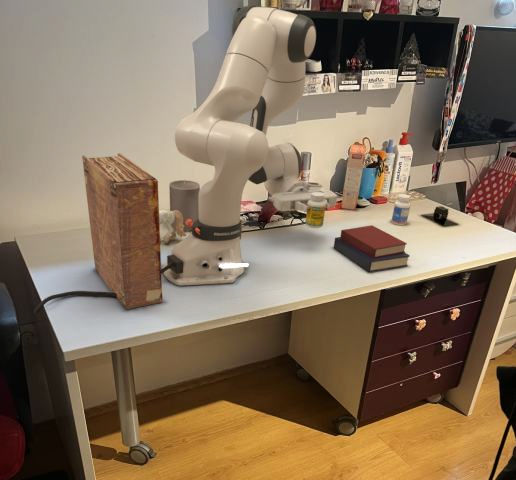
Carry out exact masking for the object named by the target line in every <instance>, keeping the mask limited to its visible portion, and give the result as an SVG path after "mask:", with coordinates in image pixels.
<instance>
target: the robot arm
mask: <svg viewBox="0 0 516 480" xmlns="http://www.w3.org/2000/svg"><path fill="white" fill-rule="evenodd" d="M231 36H232V38H231V40H230V43H229V45H228V48H227V50H226V53H225V56H224V60H223V62H222V65H221V68H220V70H219V74H218V76H217V79H216V81H215V84H214V85H213V88H212V90H211V91H210V93H209V95H208V96H207V97H206V99H205V100H204V101H203V103H202V104H201V105H200V106H199V107H198V108H197V109H196V110H195V111H194V112H192V113H190V114H189V115H187V116H185V117H183V118H182V119H181V120H180V121H179V123H178V124H177V126H176V129H175V133H174V142H175V143H174V144H175V147H176V149H177V151H178V152H179V153H180V154H181V155H183V156H184V157H186V158H187V159H189V160H191V161H193V162H195V163H199V164H204V165H209V166H212V167H214V174H213V179H211V180H209V181H207V182H206V183H204V184H203V185H202V186H200V190H199V194H198V215H199V218H198V219H197V220H196V221H195V222H193V221H192V220H191V219H187V221H186V225H187V226H188V227H189V228H192V230H191V233H190V234H188V235H186V236H185V238H184V239H182V240H181V241H179V243H177V244H175V246H173V248H172V250H171V253H170V254H169V255H166V262H165V261H164V263H163V264H162V267H161V275H162V274H163V276H164V277H165V278H166V279H167V280H168V281H169V282H171V283H172V284H174V285H177V286H179V287H180V286H181V287H183V286H199V285H201V286H202V285H215V284H217V285H219V284H232V283H234V282H235V281H236V280H237V278H238V277H239V276H240V277H241V275H242V274H243V273H244V272H245V268H247V267H249V263H248V262H246V263H245V262H244V263H243V259H242V251H241V240H242V232H243V228H242V224H243V223H242V219H241V212H242V199H243V192H244V190H245V186H246V184H247V182H248V181H249V182H250V183H252V184H254V185H261V184H264V188H265V190H266V192H268V194H269V195H270V196H268V198H267V199H268V201H269V202H270V203H272V205H273V207H274V208H275V209H276V210H278V211H279V212H292V211H300V212H301V211H302V212H304V213H307V212H309V211H310V206H309V205H307V204H308V201H309V200H310V199H311V198H310V196H311V193H312V192H320V193H323V194H324V200H323V201H324V202H325V204H326V205H325V211H329V210H330V208H335V207H336V205H337V201H338V194H336V193H335V192H334V191H332V190H330V189H329V188H327V187H323V184H322V183H319V182H310V181H305V180H300V179H299V178H300V176H301V172H302V168H303V162H302V155H301V153H300V152H299V150H298V148H297V147H296V146H294V145H293V143H291V142H284V143H280V144H275V145H272V146H269V142H268V138H267V131H268V129H269V126H270V125H271V123H272V122H273V121H274V120H275V119H276V118H278V117H279V116H280V115H282V114H284V113H285V112H286V111H289V110H290V109H292V108H293V107H294V106H295V105H296V104H298V103H299V101H300V100H301V98H302V97H303V94H304V91H305V84H306V69H307V67H306V66H307V65H306V62H307V60H309V58H310V57H311V56H312V54H313V52H314V49H315V46H316V40H317V27H316V25H315V23H314V21H313V20H312V18H310V17H308V16H307V15H304V14H301V13H300V14H296V13H293V12H291V11H287V10H283V9H279V8H278V7H277V8H276V7H268V6H256V5H245V6H242V7H241V8H240V9H239V10H238V11H237V12H236V13H235V14H234V18H233V21H232V26H231ZM251 111H252V112H251ZM249 112H251V117H250V123H249V125H248V124H246V123H242V122H241V123H240V122H237V121H238V119H239V118H240V117H242V116H243V115H244V114H247V113H249ZM70 296H71V297H72V296H99V297H100V296H101V297H102V296H103V297H112V298H117V294H116V293H113V292H112V291H110V292H109V291H93V290H92V291H91V290H71V291H65V292H61V293H56V294H52V295H49V296H47V297H45V298H44V299H43V300H42V301H40V302H39V304H37V306H36V307H35V309H34V310H33V311H32V314H39V312H40V310H41V309H42V308H43V307H44V306H45V305H46V304H47V303H48V302H50V301H52V300H56V299H60V298H66V297H70Z"/></svg>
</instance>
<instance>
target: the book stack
mask: <svg viewBox="0 0 516 480" xmlns="http://www.w3.org/2000/svg"><path fill="white" fill-rule="evenodd" d="M406 245H408V243H407V242H405V241H404V240H401V239H400V238H398V237H396V236H394V235H392V234H390V233H388V232H386V231H384V230H382V229H381V228H378V227H376V226H375V225H373V224H372V225H365V226H359V227H351V228H345V229H341V230H340V236H337V237H334V242H333V249H334V250H335V251H336V252H338V253H340V254H341V255H342V256H344V257H345V258H347V259H348V260H349V261H351V262H353V263H354V264H355V265H357V266H358V267H360V268H361V269H363V270H364V271H366V272H367V273H374V272H381V271H388V270H394V269H400V268H406V267H408V266H409V265H408V261H409V257H410V256H411V255H410V254H408V253H406V251H405V249H406Z"/></svg>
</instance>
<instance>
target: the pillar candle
mask: <svg viewBox="0 0 516 480" xmlns="http://www.w3.org/2000/svg"><path fill="white" fill-rule="evenodd" d="M168 187H169V210H170V211H174V210H177V211H179V212H180V213H181V214H182V217H183V223H182V224H183V225H184V227H183V230H184V232H190V231H192V228H189V227H188V226H187V225H186V221H187V219H191V220H192V221H193V222H195V221H196V220H197V219H198V218H199V215H198V194H199V190H200V189H201V186H200V183H198V182H197V181H194V180H186V179H185V180H181V179H180V180H173V181H170V182H169V185H168ZM176 219H177V217H176V215H175V219H174V222H173V223H172V224H173V225H174V226H175V230H176Z"/></svg>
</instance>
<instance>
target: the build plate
mask: <svg viewBox="0 0 516 480" xmlns="http://www.w3.org/2000/svg"><path fill="white" fill-rule="evenodd" d="M420 216H421V217H422V218H424V219H426V220H428V221H431V222H432V223H435V224H437V225H438V226H440V227H442V228H443V227H444V228H445V227H454V226H459V223H458V222H455V221H453V220H452V219H450V218H448V216H449V208H447V207H445V206H443V205H441V206H436V207H435V209H434V211H433V212H431V213H424V214H420Z"/></svg>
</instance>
